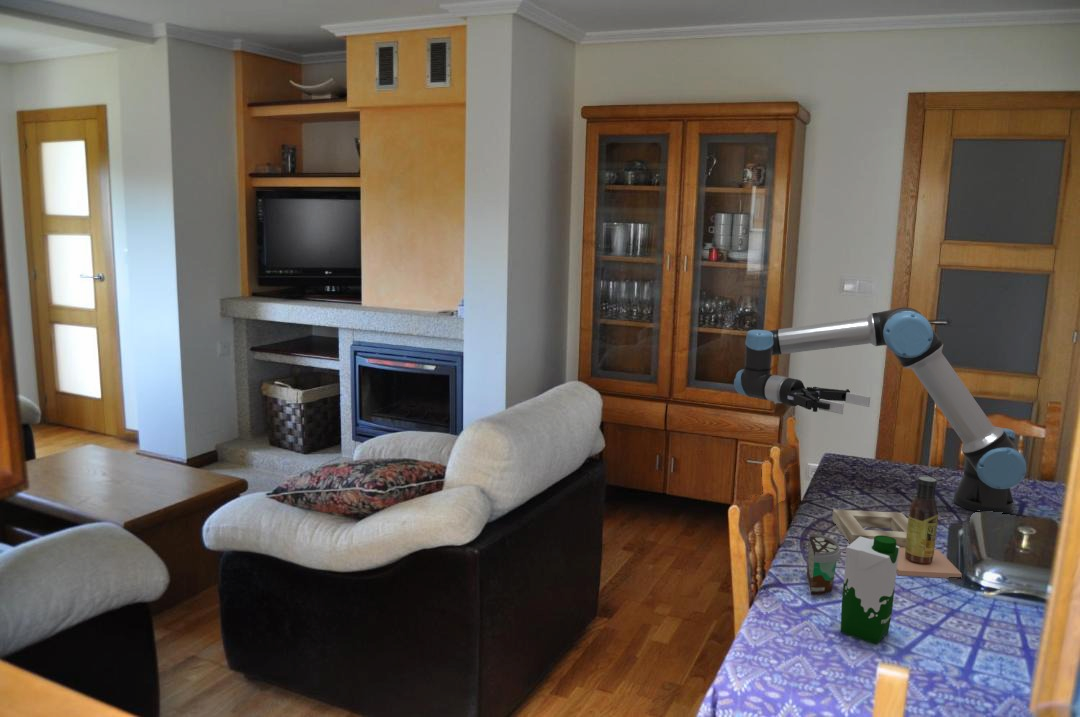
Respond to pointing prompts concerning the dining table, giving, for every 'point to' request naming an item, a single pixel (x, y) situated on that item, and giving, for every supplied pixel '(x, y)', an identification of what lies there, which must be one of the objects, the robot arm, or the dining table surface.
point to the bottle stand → (871, 524)
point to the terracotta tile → (927, 566)
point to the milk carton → (869, 587)
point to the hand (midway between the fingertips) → (856, 405)
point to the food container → (821, 563)
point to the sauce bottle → (922, 523)
